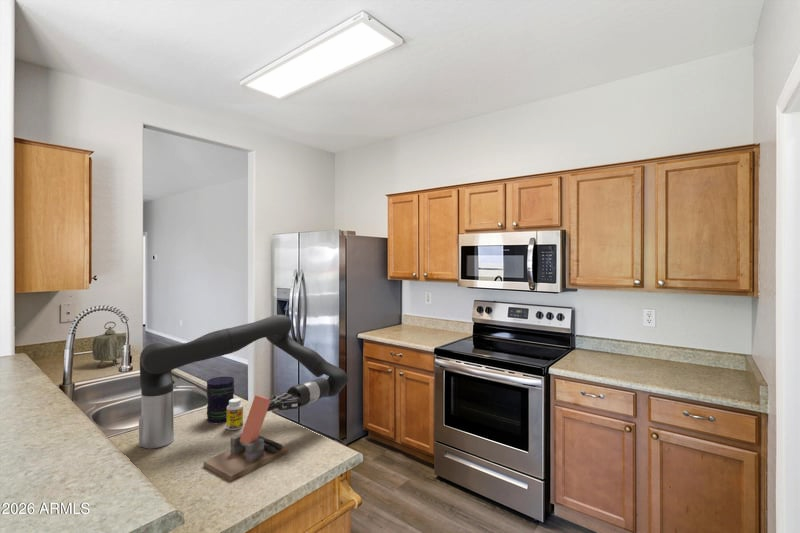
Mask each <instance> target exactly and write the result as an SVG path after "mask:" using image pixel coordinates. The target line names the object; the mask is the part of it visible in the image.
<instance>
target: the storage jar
mask: <svg viewBox="0 0 800 533" xmlns="http://www.w3.org/2000/svg"><path fill="white" fill-rule="evenodd" d="M234 395H235V378H234V377H232V376H216V377H212V378H210V379H208V380H206V397H207V406H206V417H207V418H206V421H208V422H207V423H209V424H213V423H218V424H224V423H227V406H228V405H229V400H231V399H235V398H234ZM223 422H224V423H223Z"/></svg>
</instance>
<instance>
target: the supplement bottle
mask: <svg viewBox="0 0 800 533" xmlns="http://www.w3.org/2000/svg"><path fill="white" fill-rule="evenodd" d="M241 402H242V401H241V398H237V397H236V398H234V399H231V400H229V405H228V406H227V422H226V430H228V431H237V430H240V429H241V428H242V427H244V426H243V425H244V405H243V403H241Z"/></svg>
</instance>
